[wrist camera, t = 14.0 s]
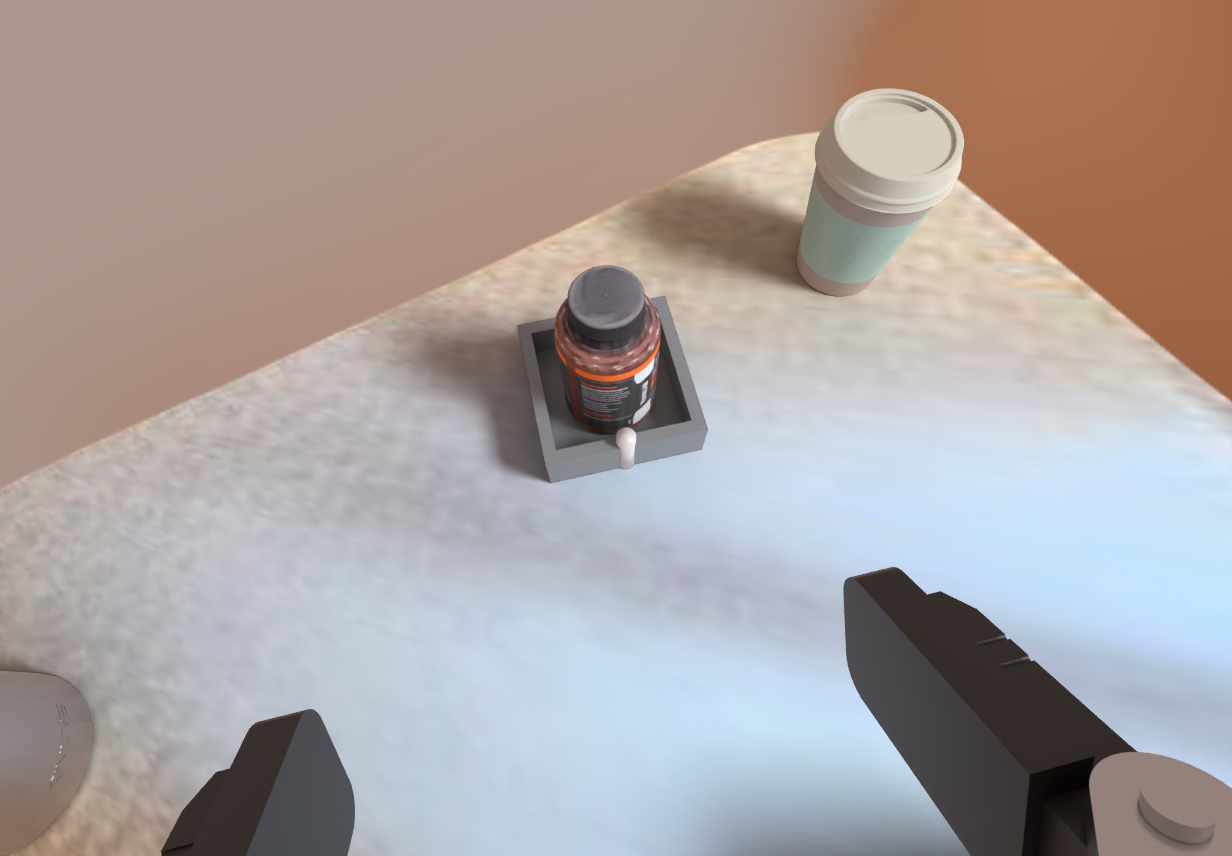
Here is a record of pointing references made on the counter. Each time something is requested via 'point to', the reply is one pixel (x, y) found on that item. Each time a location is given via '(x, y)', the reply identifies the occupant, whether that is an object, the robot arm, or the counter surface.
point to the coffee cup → (874, 185)
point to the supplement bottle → (608, 349)
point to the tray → (658, 436)
